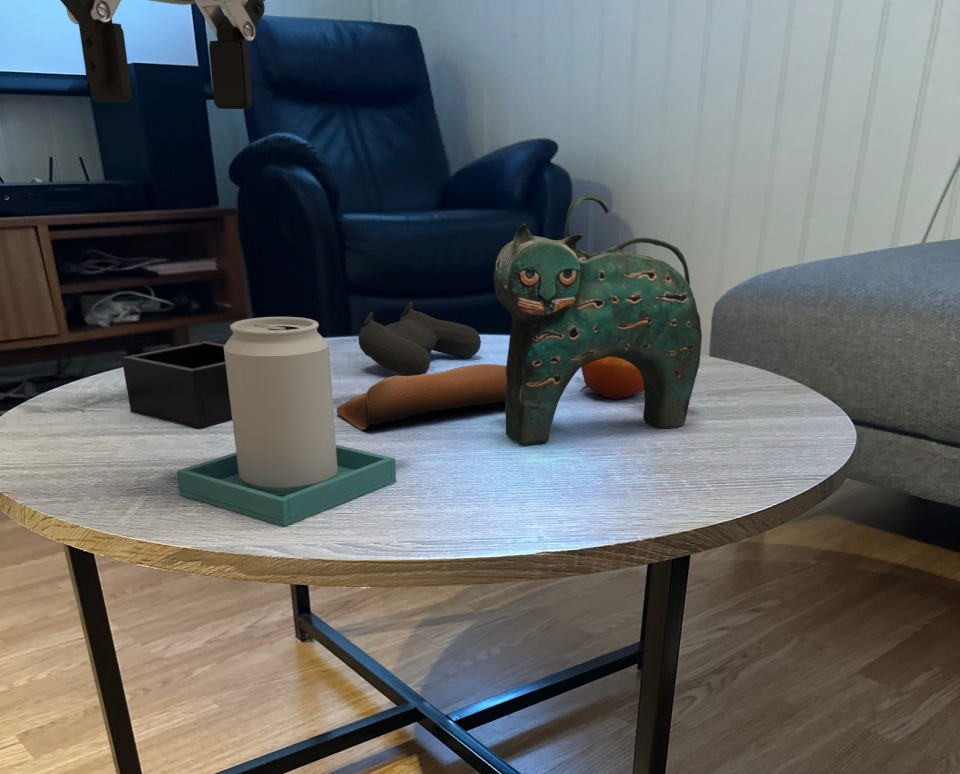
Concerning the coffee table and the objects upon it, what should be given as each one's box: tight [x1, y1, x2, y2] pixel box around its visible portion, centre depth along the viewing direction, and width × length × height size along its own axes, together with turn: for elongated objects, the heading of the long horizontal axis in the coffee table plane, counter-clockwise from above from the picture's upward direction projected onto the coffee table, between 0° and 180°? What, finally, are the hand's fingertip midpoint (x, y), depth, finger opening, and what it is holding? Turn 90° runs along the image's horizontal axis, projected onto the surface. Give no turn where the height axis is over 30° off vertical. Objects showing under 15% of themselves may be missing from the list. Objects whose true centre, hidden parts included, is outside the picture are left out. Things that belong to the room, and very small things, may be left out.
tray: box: [176, 444, 397, 527], centre depth 72 cm, size 12×11×2 cm
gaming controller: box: [358, 301, 482, 376], centre depth 111 cm, size 17×6×10 cm
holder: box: [121, 340, 232, 430], centre depth 92 cm, size 10×10×5 cm
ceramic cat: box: [493, 194, 703, 447], centre depth 82 cm, size 20×6×20 cm, turn 112°
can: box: [224, 316, 338, 495], centre depth 70 cm, size 8×8×12 cm
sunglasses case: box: [336, 363, 507, 432], centre depth 92 cm, size 18×7×7 cm
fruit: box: [579, 357, 644, 400], centre depth 99 cm, size 8×8×8 cm
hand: (176, 105), depth 61 cm, fingers open, 9 cm apart
